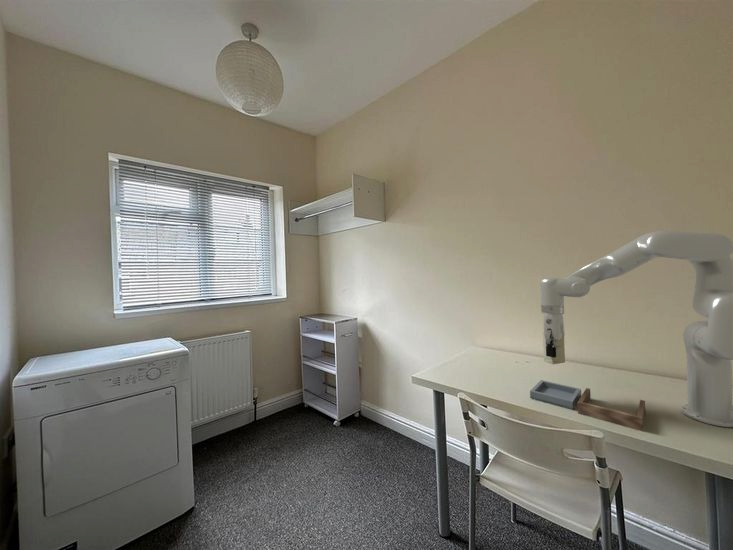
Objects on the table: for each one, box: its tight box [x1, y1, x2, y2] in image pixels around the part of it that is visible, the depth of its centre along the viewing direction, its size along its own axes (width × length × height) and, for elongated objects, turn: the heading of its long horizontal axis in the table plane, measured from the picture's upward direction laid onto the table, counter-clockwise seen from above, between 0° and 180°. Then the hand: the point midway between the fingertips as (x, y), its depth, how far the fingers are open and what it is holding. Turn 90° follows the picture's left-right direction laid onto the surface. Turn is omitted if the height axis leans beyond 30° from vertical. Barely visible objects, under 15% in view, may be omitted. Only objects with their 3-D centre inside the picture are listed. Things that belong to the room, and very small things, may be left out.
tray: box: [529, 379, 582, 411], centre depth 113 cm, size 14×14×3 cm
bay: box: [577, 387, 646, 432], centre depth 100 cm, size 16×15×4 cm
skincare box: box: [542, 330, 566, 365], centre depth 113 cm, size 6×4×12 cm
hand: (554, 353), depth 113 cm, fingers closed on skincare box, 7 cm apart
